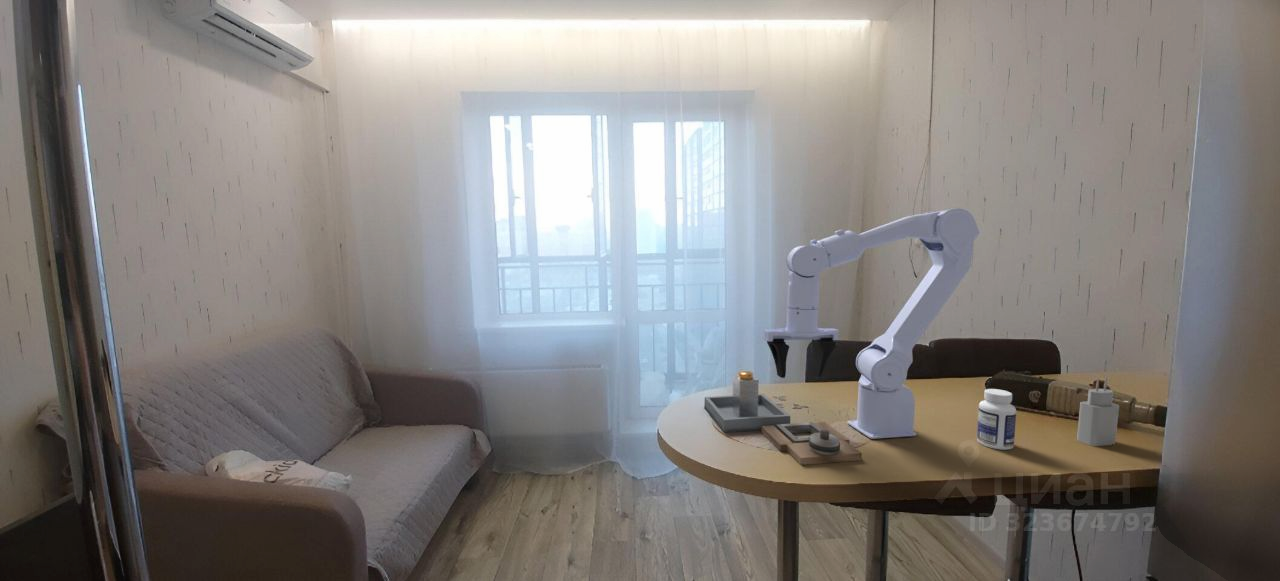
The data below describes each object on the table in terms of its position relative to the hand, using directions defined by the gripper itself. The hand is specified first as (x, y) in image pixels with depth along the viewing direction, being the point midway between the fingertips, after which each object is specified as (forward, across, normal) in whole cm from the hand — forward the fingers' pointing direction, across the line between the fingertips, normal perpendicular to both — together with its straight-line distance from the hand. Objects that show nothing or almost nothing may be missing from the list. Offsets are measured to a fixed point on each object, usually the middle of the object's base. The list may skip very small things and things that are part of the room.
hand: (799, 375), depth 93 cm
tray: (+11, +8, -6) cm, 15 cm away
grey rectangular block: (+10, +8, -6) cm, 15 cm away
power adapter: (+10, -50, +15) cm, 54 cm away
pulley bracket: (+10, +2, +8) cm, 13 cm away
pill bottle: (+10, -32, +13) cm, 36 cm away
